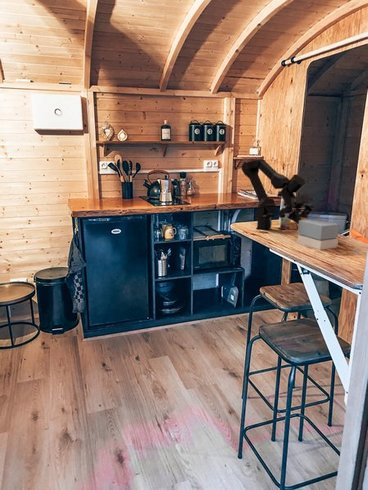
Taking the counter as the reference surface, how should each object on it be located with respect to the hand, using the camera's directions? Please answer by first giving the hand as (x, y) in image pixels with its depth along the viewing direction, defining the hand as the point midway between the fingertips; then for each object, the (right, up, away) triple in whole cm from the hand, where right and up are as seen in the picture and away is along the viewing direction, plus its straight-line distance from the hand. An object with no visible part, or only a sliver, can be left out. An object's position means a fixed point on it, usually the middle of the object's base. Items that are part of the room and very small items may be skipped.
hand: (304, 225), depth 178 cm
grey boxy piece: (+3, -4, -4) cm, 6 cm away
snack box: (0, +2, +36) cm, 36 cm away
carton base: (+4, -9, -5) cm, 11 cm away
